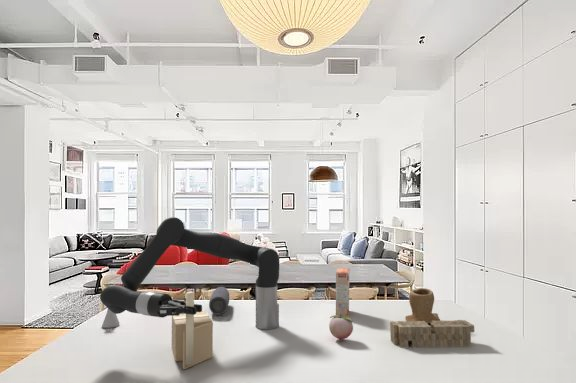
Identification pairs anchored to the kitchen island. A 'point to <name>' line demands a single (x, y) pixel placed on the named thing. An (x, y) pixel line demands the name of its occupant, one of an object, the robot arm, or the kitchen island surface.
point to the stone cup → (422, 306)
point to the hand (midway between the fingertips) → (198, 309)
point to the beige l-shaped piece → (196, 339)
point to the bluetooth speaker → (219, 300)
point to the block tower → (431, 333)
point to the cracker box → (342, 292)
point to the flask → (110, 320)
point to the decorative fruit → (340, 327)
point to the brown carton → (180, 326)
